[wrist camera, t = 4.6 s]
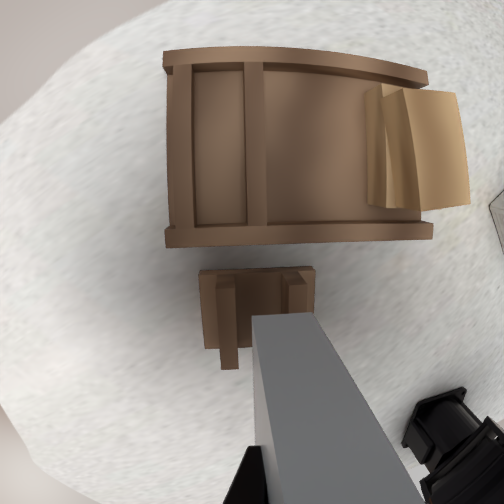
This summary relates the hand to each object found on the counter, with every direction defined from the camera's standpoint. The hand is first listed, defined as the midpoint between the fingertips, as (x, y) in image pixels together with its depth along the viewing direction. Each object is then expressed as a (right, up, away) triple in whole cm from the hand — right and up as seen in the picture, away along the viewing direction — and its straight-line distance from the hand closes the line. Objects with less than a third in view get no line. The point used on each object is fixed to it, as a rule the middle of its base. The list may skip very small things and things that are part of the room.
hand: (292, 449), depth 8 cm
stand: (-1, +3, +12) cm, 12 cm away
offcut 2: (+8, +12, +7) cm, 16 cm away
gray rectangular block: (0, +1, +3) cm, 3 cm away
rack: (+2, +13, +10) cm, 16 cm away
